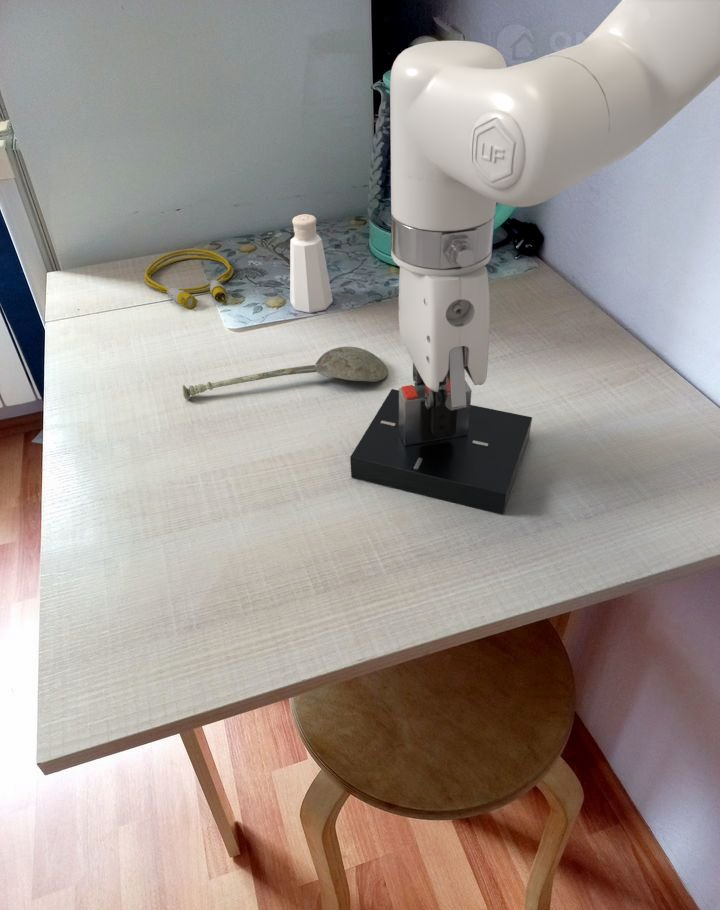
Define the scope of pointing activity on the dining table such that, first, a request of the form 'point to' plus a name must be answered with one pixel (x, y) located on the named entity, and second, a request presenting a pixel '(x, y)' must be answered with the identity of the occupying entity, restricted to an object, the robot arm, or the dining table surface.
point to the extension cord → (184, 294)
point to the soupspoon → (317, 369)
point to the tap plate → (446, 457)
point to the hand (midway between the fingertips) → (433, 428)
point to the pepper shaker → (308, 268)
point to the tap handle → (412, 414)
